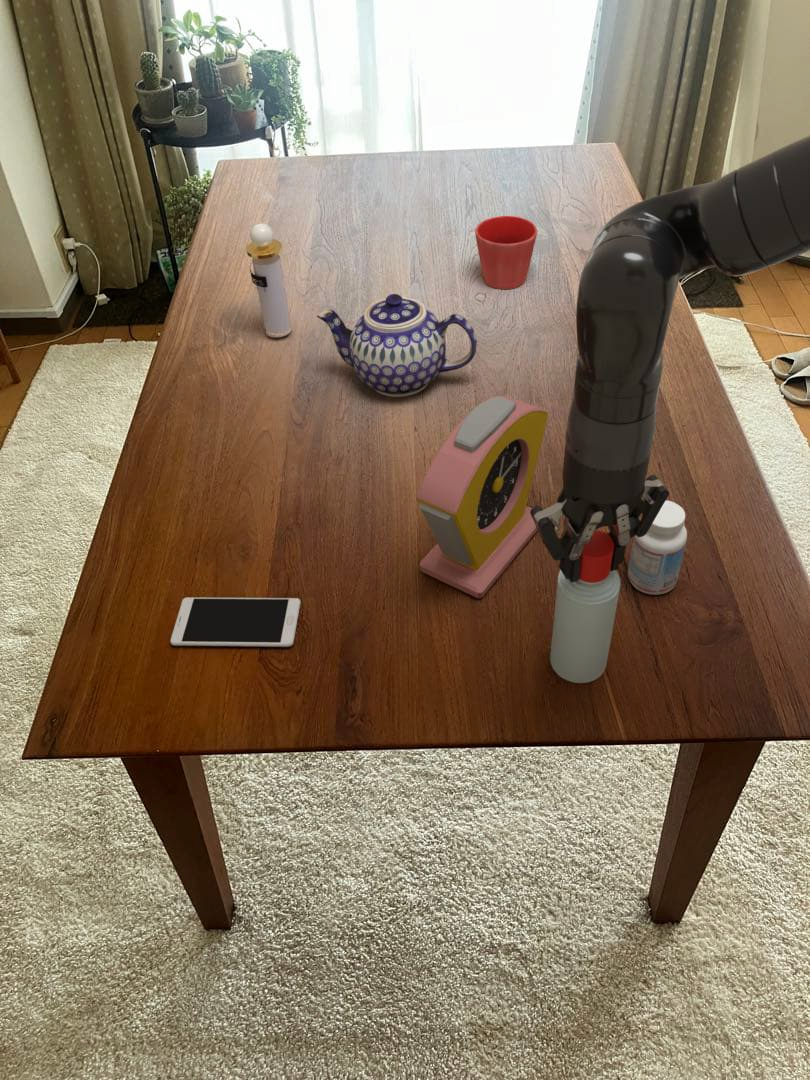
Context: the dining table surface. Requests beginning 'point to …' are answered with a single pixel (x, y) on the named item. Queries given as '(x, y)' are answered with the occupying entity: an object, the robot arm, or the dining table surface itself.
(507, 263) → the flower pot
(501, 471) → the pink desk clock
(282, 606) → the smartphone
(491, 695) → the dining table surface
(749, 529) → the dining table surface
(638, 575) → the pill bottle
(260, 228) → the perfume bottle
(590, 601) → the water bottle
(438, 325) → the teapot
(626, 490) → the robot arm
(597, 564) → the cap
